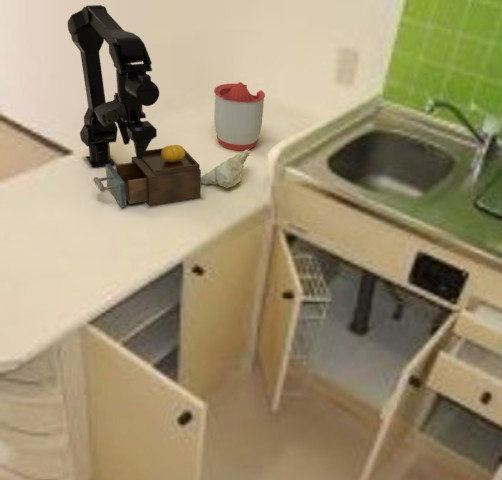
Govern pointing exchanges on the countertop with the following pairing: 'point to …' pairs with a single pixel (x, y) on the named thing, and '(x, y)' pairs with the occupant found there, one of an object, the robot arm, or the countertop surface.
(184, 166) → the dark brown shallow tray
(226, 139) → the citrus juicer
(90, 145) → the robot arm
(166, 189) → the cabinet
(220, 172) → the white conch shell
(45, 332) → the countertop surface
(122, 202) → the drawer
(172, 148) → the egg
